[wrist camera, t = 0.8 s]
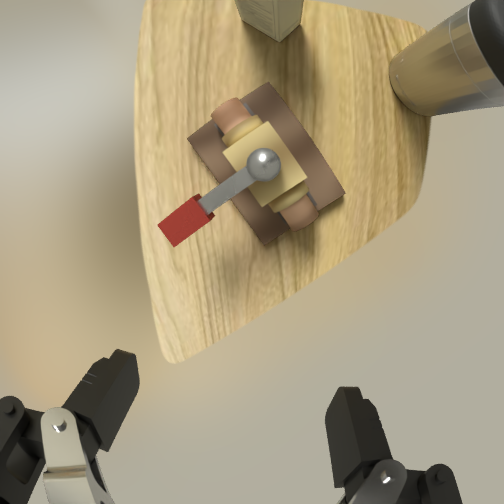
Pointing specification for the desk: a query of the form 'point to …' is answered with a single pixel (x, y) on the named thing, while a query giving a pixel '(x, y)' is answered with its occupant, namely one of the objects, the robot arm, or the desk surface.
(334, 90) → the desk surface
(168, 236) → the valve lever
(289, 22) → the skincare box
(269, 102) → the valve rig
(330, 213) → the desk surface
